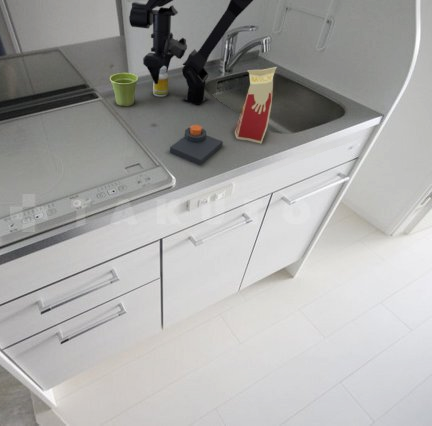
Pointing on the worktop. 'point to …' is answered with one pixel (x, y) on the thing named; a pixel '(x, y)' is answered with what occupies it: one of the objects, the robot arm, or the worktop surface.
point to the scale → (196, 147)
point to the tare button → (195, 130)
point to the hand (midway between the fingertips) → (160, 79)
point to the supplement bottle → (161, 83)
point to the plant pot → (124, 88)
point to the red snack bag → (256, 106)
